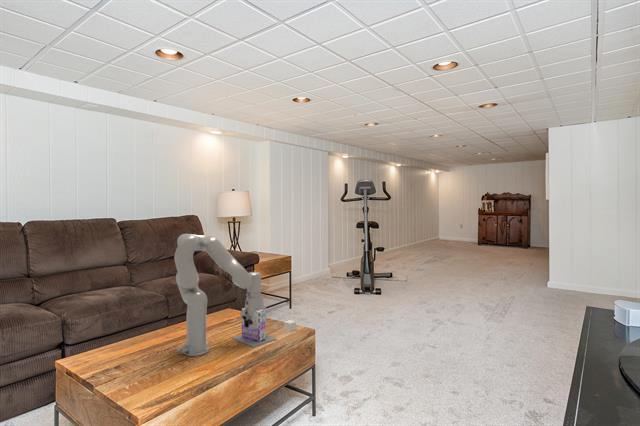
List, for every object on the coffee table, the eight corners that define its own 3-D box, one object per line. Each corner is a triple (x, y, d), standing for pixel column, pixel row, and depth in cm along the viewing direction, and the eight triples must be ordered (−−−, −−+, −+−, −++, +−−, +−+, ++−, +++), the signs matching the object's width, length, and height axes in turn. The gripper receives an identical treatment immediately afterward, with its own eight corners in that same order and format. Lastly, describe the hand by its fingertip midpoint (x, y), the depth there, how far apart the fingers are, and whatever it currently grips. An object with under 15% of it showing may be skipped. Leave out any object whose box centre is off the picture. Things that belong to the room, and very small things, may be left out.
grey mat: (253, 347, 188) (253, 346, 188) (231, 338, 201) (231, 337, 201) (276, 339, 199) (276, 338, 199) (255, 331, 213) (255, 330, 213)
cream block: (289, 331, 212) (289, 323, 212) (284, 329, 215) (284, 321, 215) (296, 329, 216) (296, 321, 216) (290, 327, 219) (290, 319, 219)
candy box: (266, 339, 199) (266, 309, 198) (259, 342, 194) (259, 312, 194) (248, 334, 206) (248, 305, 206) (241, 337, 202) (241, 308, 201)
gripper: (245, 298, 191) (244, 330, 191) (270, 293, 204) (270, 323, 204) (237, 295, 196) (236, 326, 196) (262, 291, 209) (261, 320, 209)
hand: (253, 324), depth 200 cm, fingers open, 9 cm apart
